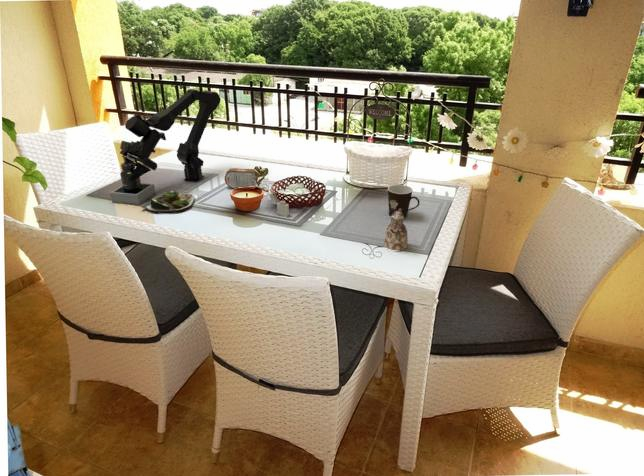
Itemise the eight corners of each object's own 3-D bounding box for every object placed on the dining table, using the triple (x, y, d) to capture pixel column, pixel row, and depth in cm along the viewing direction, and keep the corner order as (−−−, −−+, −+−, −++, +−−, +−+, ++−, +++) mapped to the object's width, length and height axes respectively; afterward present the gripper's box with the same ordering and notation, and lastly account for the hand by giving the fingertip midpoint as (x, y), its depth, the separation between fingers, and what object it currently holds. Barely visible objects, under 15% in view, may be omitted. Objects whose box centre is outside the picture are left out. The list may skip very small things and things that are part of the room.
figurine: (380, 247, 142) (382, 212, 136) (389, 238, 147) (392, 204, 141) (401, 253, 138) (405, 218, 133) (410, 244, 144) (413, 209, 138)
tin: (262, 187, 187) (261, 168, 183) (260, 190, 184) (259, 171, 180) (227, 186, 188) (224, 167, 184) (224, 189, 186) (222, 169, 182)
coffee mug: (381, 212, 165) (383, 186, 160) (401, 208, 168) (403, 183, 163) (398, 225, 155) (400, 198, 151) (419, 221, 158) (422, 194, 154)
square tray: (155, 193, 181) (153, 184, 180) (139, 204, 171) (137, 195, 170) (129, 191, 184) (127, 181, 182) (112, 202, 174) (109, 192, 172)
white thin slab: (289, 215, 163) (288, 194, 159) (286, 216, 162) (285, 196, 158) (272, 211, 166) (271, 191, 162) (270, 213, 165) (268, 192, 161)
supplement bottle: (121, 196, 174) (114, 166, 168) (129, 189, 180) (122, 160, 174) (138, 196, 174) (132, 166, 168) (145, 189, 180) (139, 161, 174)
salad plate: (155, 194, 181) (153, 183, 179) (199, 194, 182) (198, 183, 180) (139, 215, 164) (136, 203, 162) (188, 214, 165) (186, 202, 163)
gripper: (119, 127, 174) (97, 162, 172) (143, 136, 163) (120, 173, 161) (142, 143, 183) (122, 176, 181) (166, 152, 172) (145, 187, 170)
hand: (127, 178), depth 173 cm, fingers closed on supplement bottle, 7 cm apart
